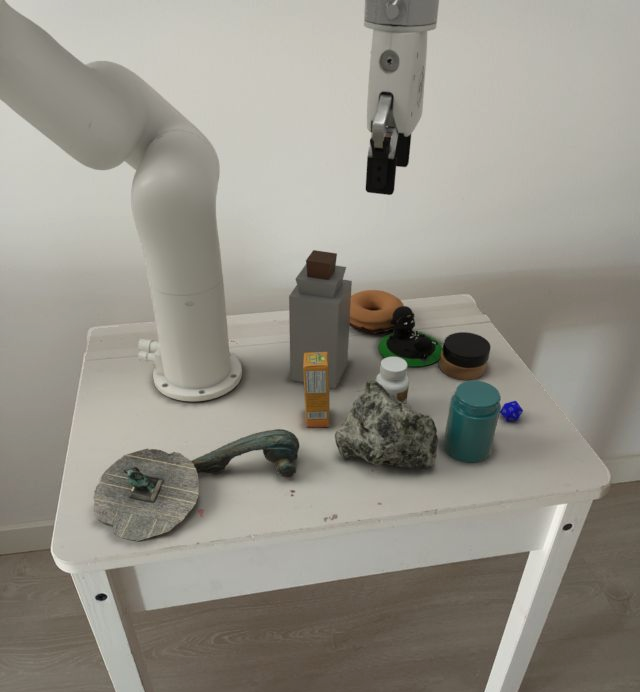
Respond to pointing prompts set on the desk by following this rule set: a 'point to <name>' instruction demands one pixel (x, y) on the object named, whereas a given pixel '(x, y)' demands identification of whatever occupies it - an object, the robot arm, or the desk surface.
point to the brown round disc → (460, 370)
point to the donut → (373, 310)
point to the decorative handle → (273, 443)
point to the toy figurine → (409, 341)
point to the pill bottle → (394, 377)
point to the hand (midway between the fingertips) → (387, 178)
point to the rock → (387, 431)
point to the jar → (472, 421)
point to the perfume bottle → (320, 315)
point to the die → (511, 411)
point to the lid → (466, 349)
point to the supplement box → (316, 389)
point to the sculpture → (146, 493)
